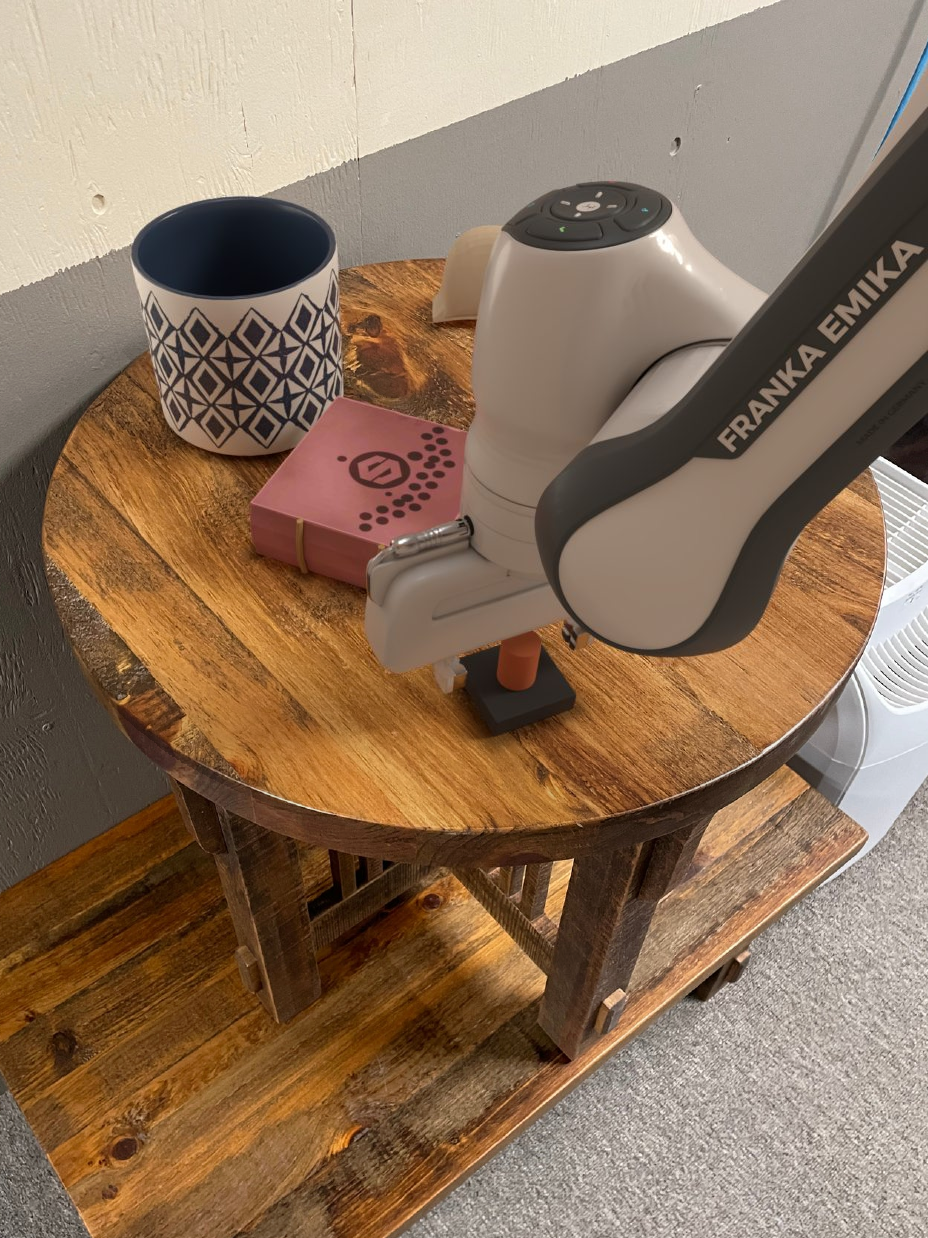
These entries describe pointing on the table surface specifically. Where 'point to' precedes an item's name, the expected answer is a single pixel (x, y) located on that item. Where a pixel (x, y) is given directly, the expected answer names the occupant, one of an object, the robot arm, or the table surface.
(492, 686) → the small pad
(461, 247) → the decorative ornament
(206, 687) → the table surface
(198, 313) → the planter
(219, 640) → the table surface
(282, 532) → the book
